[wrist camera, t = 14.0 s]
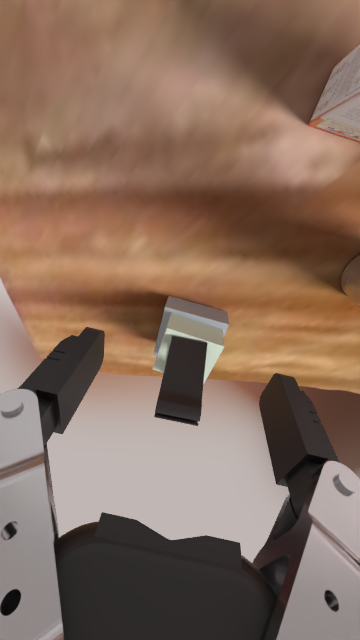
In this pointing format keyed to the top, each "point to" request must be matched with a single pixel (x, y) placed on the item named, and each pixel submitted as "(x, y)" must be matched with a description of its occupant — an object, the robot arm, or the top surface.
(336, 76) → the cracker box
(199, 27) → the top surface
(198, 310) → the tower base slab
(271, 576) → the robot arm
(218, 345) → the tower top block
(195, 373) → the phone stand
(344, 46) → the top surface
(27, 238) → the top surface
